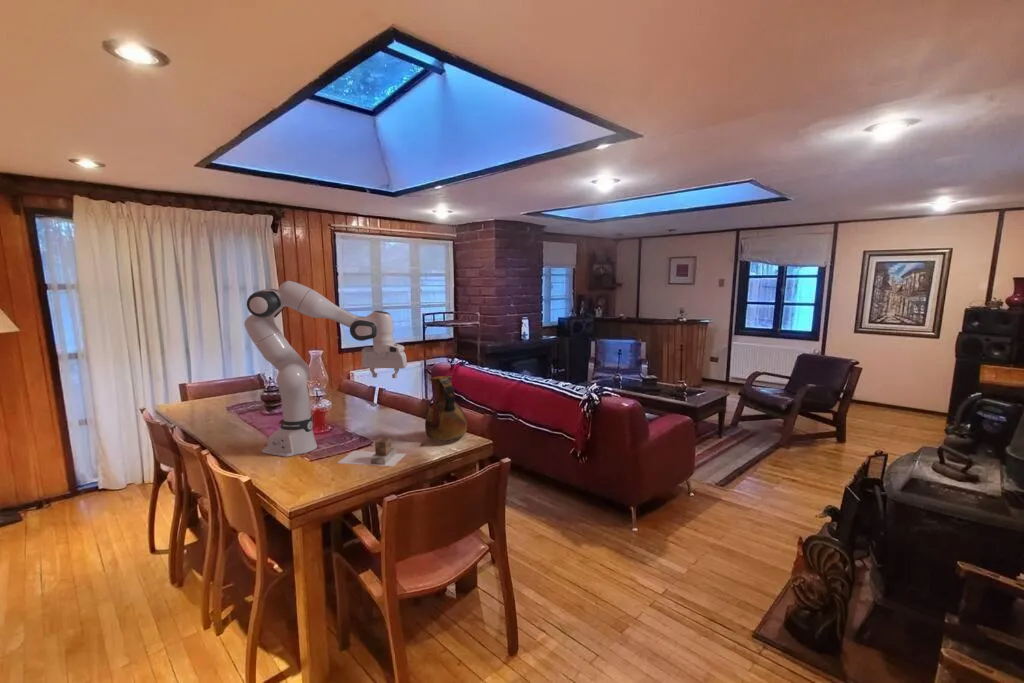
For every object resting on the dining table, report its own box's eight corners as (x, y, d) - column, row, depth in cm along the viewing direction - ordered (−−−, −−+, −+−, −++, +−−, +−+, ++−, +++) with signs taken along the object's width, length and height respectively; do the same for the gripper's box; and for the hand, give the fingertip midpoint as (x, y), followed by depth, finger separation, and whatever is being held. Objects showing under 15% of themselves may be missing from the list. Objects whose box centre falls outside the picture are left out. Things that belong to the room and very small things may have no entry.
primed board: (337, 466, 177) (336, 462, 177) (353, 454, 190) (353, 450, 190) (393, 469, 174) (393, 466, 173) (406, 457, 186) (406, 453, 186)
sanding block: (370, 463, 176) (369, 444, 175) (382, 453, 187) (382, 435, 186) (384, 464, 175) (383, 445, 174) (396, 454, 186) (395, 435, 185)
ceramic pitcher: (456, 428, 222) (454, 370, 219) (475, 440, 206) (473, 377, 202) (419, 436, 212) (416, 375, 208) (436, 449, 195) (434, 382, 191)
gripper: (358, 347, 195) (359, 378, 197) (402, 348, 192) (403, 379, 194) (365, 345, 202) (366, 375, 203) (407, 346, 198) (408, 376, 200)
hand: (384, 377), depth 199 cm, fingers open, 8 cm apart
